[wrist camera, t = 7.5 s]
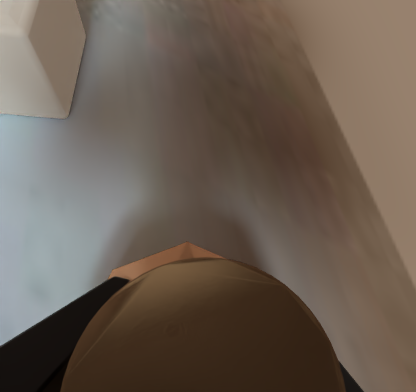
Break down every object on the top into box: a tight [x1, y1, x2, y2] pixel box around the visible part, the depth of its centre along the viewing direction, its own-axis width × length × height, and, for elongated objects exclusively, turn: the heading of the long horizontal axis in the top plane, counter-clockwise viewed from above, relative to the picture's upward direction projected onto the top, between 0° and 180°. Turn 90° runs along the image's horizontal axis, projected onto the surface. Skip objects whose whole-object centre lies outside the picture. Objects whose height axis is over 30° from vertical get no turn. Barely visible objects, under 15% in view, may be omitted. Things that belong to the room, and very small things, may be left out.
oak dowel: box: [61, 257, 346, 392], centre depth 9 cm, size 4×4×10 cm
